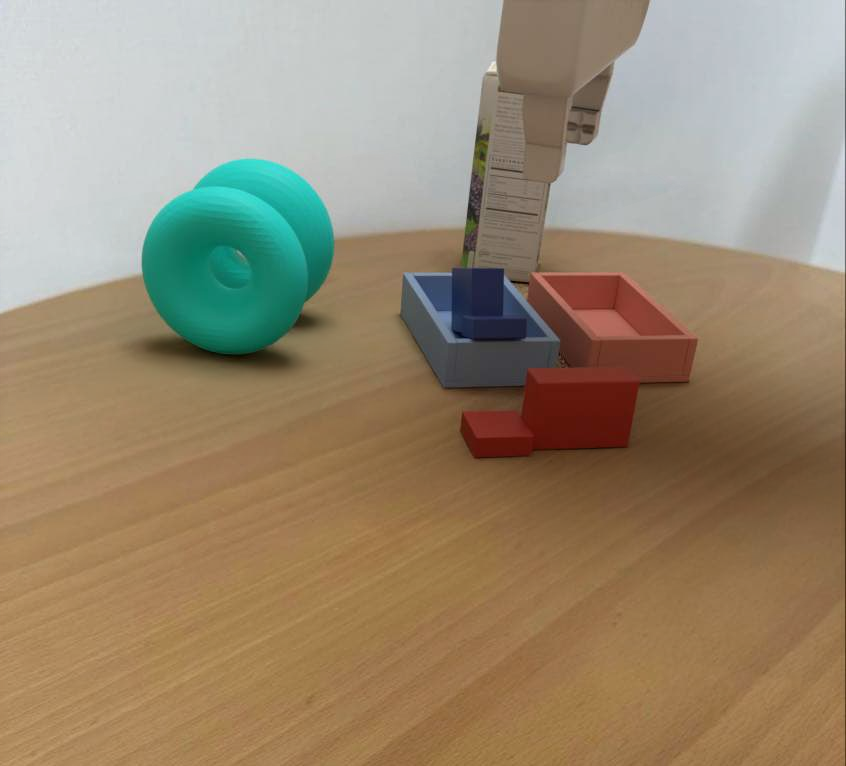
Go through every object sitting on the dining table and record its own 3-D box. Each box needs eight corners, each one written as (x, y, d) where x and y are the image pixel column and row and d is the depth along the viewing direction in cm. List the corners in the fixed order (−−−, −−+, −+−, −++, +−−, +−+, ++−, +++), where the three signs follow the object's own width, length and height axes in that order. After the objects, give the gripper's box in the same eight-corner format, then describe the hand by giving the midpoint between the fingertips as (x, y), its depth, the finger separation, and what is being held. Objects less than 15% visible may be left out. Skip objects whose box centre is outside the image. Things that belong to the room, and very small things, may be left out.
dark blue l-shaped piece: (526, 338, 68) (528, 268, 67) (473, 339, 67) (474, 268, 66) (489, 329, 76) (490, 267, 75) (442, 330, 76) (442, 267, 75)
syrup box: (467, 253, 91) (486, 57, 84) (541, 262, 91) (568, 66, 83) (459, 276, 86) (479, 70, 79) (538, 285, 86) (565, 79, 78)
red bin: (617, 311, 82) (624, 271, 81) (689, 381, 72) (698, 338, 71) (525, 312, 81) (530, 272, 79) (585, 384, 71) (592, 340, 69)
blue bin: (497, 312, 80) (502, 272, 79) (554, 385, 70) (561, 340, 69) (400, 313, 79) (402, 272, 77) (443, 388, 69) (447, 342, 67)
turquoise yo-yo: (138, 349, 70) (129, 183, 65) (192, 295, 78) (188, 145, 73) (298, 372, 69) (302, 205, 64) (335, 315, 78) (341, 163, 72)
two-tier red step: (474, 457, 61) (482, 388, 59) (459, 430, 64) (466, 363, 62) (632, 452, 63) (645, 385, 61) (611, 426, 66) (623, 361, 64)
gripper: (636, -139, 45) (582, 217, 52) (694, -137, 61) (648, 132, 69) (479, -153, 46) (448, 195, 53) (578, -147, 63) (545, 117, 70)
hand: (561, 159), depth 61 cm, fingers open, 8 cm apart
